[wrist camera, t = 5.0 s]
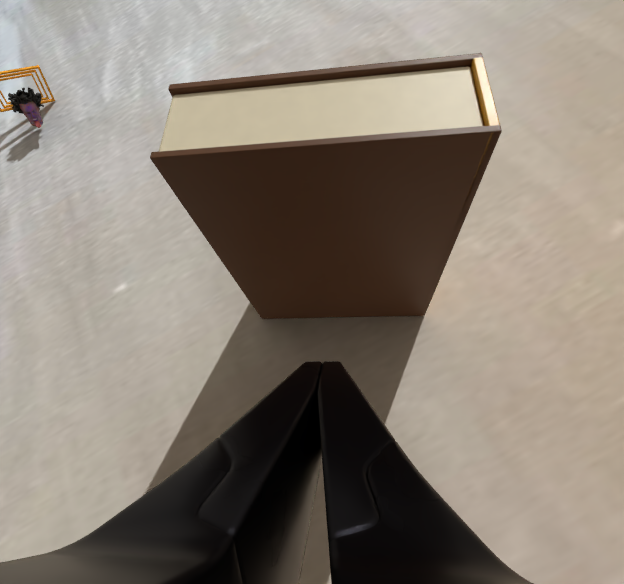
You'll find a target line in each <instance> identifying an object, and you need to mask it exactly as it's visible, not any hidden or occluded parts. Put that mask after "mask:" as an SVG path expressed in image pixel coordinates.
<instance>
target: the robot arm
mask: <svg viewBox="0 0 624 584" xmlns="http://www.w3.org/2000/svg"><path fill="white" fill-rule="evenodd" d="M321 458H322V463H323V476H324V489H325V502H326V515H327V529H328V542H329V555H330V568H331V581H332V584H533V583H531V582H529V581H527V580H526V579H524V578H523V577H521V576H520V575H518V574H517V573H516V572H514V571H513V570H512V569H510V568H509V567H508V566H507V565H506V564H504V563H503V562H502V561H501V560H500V559H499V558H498V557H497V556H496V555H495V554H494V553H493V552H492V551H491V550H490V549H489V548H488V547H487V546H486V545H485V544H484V543H483V542H482V541H481V540H480V538H479V537H478V536H477V535H476V534H475V533H474V532H473V531H472V530H471V529H470V528H469V527H468V526H467V524H466V523H465V522H464V521H463V520H462V519H461V518H460V517H459V516H458V515H457V514H456V513H455V511H454V510H453V509H452V508H451V507H450V506H449V505H448V504H447V503H446V502H445V501H444V500H443V499H442V497H441V496H440V495H439V494H438V493H437V492H436V491H435V490H434V489H433V488H432V486H431V485H430V484H429V483H428V482H427V481H426V480H425V478H424V477H423V476H422V475H421V474H420V473H419V472H418V470H417V469H416V468H415V466H414V465H413V464H412V462H411V461H410V460H409V458H408V457H407V456H406V455H405V453H404V452H403V450H402V449H401V447H400V446H399V445H398V443H397V442H396V441H395V439H394V438H393V436H392V435H391V433H390V432H389V431H388V429H387V428H386V426H385V425H384V423H383V422H382V421H381V419H380V418H379V416H378V415H377V414H376V412H375V411H374V409H373V408H372V406H371V405H370V404H369V402H368V401H367V399H366V398H365V396H364V395H363V394H362V392H361V391H360V389H359V388H358V387H357V385H356V384H355V382H354V381H353V379H352V378H351V377H350V375H349V374H348V372H347V371H346V369H345V368H344V367H343V365H342V364H341V363H340V362H338V361H332V362H324V363H323V364H322V363H321V362H305V363H304V364H302V365H301V366H300V367H299V368H298V369H297V370H295V371H294V372H293V373H292V374H291V375H290V376H288V377H287V378H286V379H285V380H284V381H283V382H282V383H280V384H279V385H278V386H277V387H276V388H275V389H273V390H272V391H271V392H270V393H269V394H268V395H267V396H265V397H264V398H263V399H262V400H261V401H260V402H258V403H257V404H256V405H255V406H254V407H253V408H251V409H250V410H249V411H248V412H247V413H246V414H245V415H243V416H242V417H241V418H240V419H239V420H238V421H236V422H235V423H234V424H233V425H232V426H231V427H230V428H228V429H227V430H226V431H225V432H224V433H223V434H221V435H220V438H217V439H215V440H214V441H213V442H212V443H211V444H210V445H209V446H207V447H206V448H205V449H204V450H203V451H201V452H200V453H199V454H198V455H197V456H195V457H194V458H193V459H192V460H190V461H189V462H188V463H187V464H186V465H184V466H183V467H182V468H180V469H179V470H178V471H176V472H175V473H174V474H172V475H171V476H170V477H168V478H167V479H166V480H164V481H163V482H162V483H160V484H159V485H157V486H156V487H155V488H153V489H152V490H150V491H149V492H148V493H146V494H145V495H144V496H142V497H141V498H139V499H138V500H137V501H135V502H134V503H132V504H131V505H130V506H128V507H127V508H125V509H124V510H123V511H121V512H120V513H118V514H117V515H116V516H114V517H113V518H112V519H110V520H109V521H107V522H106V523H105V524H103V525H102V526H100V527H99V528H98V529H96V530H95V531H93V532H92V533H90V534H89V535H87V536H85V537H84V538H82V539H80V540H78V541H76V542H75V543H72V544H70V545H68V546H66V547H63V548H61V549H58V550H55V551H52V552H49V553H46V554H42V555H37V556H32V557H27V558H22V559H17V560H12V561H7V562H1V563H0V584H299V580H300V574H301V569H302V563H303V558H304V553H305V547H306V542H307V536H308V531H309V525H310V520H311V514H312V509H313V503H314V498H315V493H316V487H317V482H318V476H319V471H320V465H321Z"/></svg>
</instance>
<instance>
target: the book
mask: <svg viewBox="0 0 624 584" xmlns="http://www.w3.org/2000/svg"><path fill="white" fill-rule="evenodd" d="M169 91H170V93H171V95H172V97H173V98H172V102H171V106H170V110H169V114H168V118H167V121H166V125H165V129H164V133H163V137H162V141H161V145H160V149H159V152H152V153H151V156H150V159H151V160H152V162H153V163H154V164H155V166H156V167H157V169H158V170H159V172H160V173H161V174H162V176H163V177H164V179H165V180H166V182H167V183H168V185H169V186H170V187H171V189H172V190H173V192H174V193H175V195H176V196H177V197H178V199H179V200H180V202H181V203H182V205H183V206H184V208H185V209H186V210H187V212H188V213H189V215H190V216H191V218H192V219H193V221H194V222H195V223H196V225H197V226H198V228H199V229H200V231H201V232H202V233H203V235H204V236H205V238H206V239H207V241H208V242H209V244H210V245H211V246H212V248H213V249H214V251H215V252H216V254H217V255H218V256H219V258H220V259H221V261H222V262H223V264H224V265H225V267H226V268H227V269H228V271H229V272H230V274H231V275H232V277H233V278H234V280H235V281H236V282H237V284H238V285H239V287H240V288H241V290H242V291H243V292H244V294H245V295H246V297H247V298H248V300H249V301H250V303H251V304H252V305H253V307H254V308H255V310H256V311H257V313H258V314H259V315H260V317H261V318H262V319H274V318H322V317H371V316H420V315H425V313H426V311H427V308H428V306H429V304H430V301H431V299H432V296H433V294H434V292H435V289H436V287H437V285H438V282H439V280H440V277H441V275H442V273H443V270H444V268H445V265H446V263H447V261H448V258H449V256H450V253H451V251H452V249H453V246H454V244H455V241H456V239H457V237H458V234H459V232H460V229H461V227H462V225H463V222H464V220H465V217H466V215H467V213H468V210H469V208H470V206H471V203H472V201H473V198H474V196H475V194H476V191H477V189H478V186H479V184H480V182H481V179H482V177H483V174H484V172H485V170H486V167H487V165H488V162H489V160H490V158H491V155H492V153H493V150H494V148H495V146H496V143H497V141H498V138H499V136H500V134H501V127H500V123H499V119H498V115H497V111H496V107H495V103H494V100H493V96H492V92H491V88H490V84H489V80H488V76H487V72H486V68H485V64H484V60H483V56H482V53H476V54H467V55H457V56H447V57H437V58H427V59H417V60H407V61H398V62H388V63H378V64H368V65H358V66H348V67H338V68H329V69H319V70H309V71H299V72H289V73H279V74H270V75H260V76H250V77H240V78H230V79H220V80H210V81H201V82H191V83H181V84H171V85H170V86H169Z"/></svg>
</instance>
